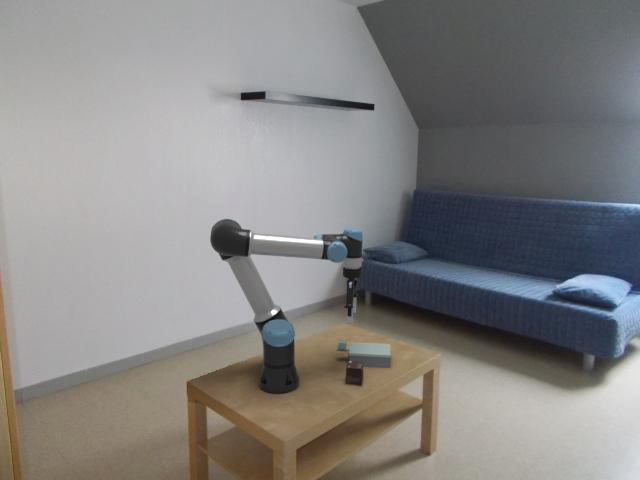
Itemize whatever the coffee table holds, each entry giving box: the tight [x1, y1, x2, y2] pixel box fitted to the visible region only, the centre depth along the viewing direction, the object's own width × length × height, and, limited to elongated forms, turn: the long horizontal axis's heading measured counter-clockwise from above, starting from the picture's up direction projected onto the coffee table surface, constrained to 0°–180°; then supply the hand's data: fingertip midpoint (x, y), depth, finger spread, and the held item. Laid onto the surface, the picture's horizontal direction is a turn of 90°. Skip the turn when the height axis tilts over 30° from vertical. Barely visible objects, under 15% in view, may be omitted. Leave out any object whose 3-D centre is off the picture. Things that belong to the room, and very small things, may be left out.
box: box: [345, 360, 364, 387], centre depth 187 cm, size 6×6×7 cm
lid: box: [335, 339, 391, 358], centre depth 204 cm, size 22×12×4 cm, turn 82°
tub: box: [349, 355, 391, 369], centre depth 205 cm, size 16×11×5 cm
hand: (351, 317), depth 201 cm, fingers open, 13 cm apart
